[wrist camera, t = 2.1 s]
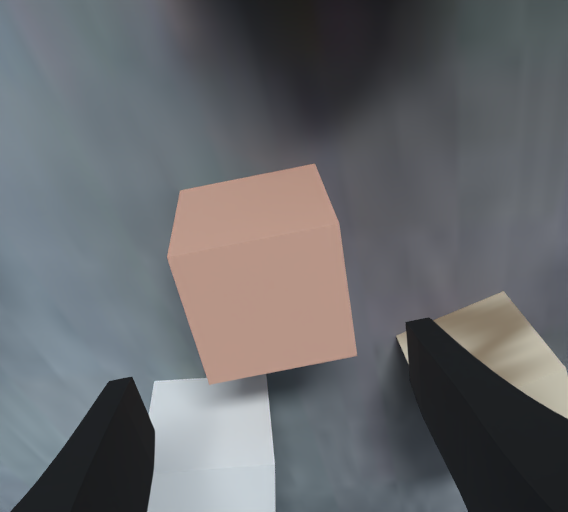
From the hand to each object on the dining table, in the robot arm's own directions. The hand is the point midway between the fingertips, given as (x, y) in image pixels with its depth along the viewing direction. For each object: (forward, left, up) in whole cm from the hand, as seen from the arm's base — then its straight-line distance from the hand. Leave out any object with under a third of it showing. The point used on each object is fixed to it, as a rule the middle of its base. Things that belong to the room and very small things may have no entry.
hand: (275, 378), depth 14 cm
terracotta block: (0, 0, -8) cm, 8 cm away
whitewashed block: (+4, +9, -8) cm, 13 cm away
